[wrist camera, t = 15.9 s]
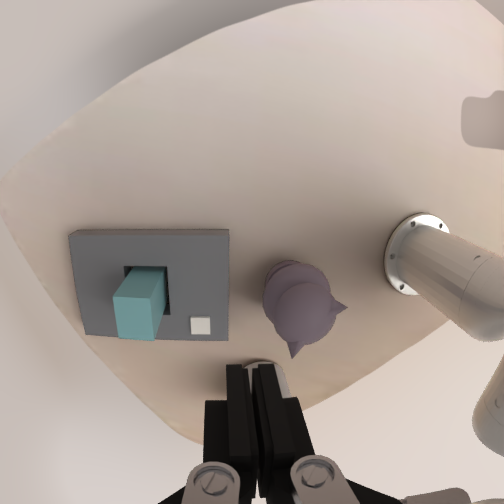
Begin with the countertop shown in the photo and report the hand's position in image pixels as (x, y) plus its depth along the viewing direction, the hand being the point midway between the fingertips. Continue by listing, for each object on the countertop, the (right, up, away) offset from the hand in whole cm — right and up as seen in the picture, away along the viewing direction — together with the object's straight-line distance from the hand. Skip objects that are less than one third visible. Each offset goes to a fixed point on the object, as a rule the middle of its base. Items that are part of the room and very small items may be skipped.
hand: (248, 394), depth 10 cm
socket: (-13, +1, +29) cm, 31 cm away
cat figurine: (+5, +1, +31) cm, 31 cm away
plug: (-13, +1, +29) cm, 31 cm away
